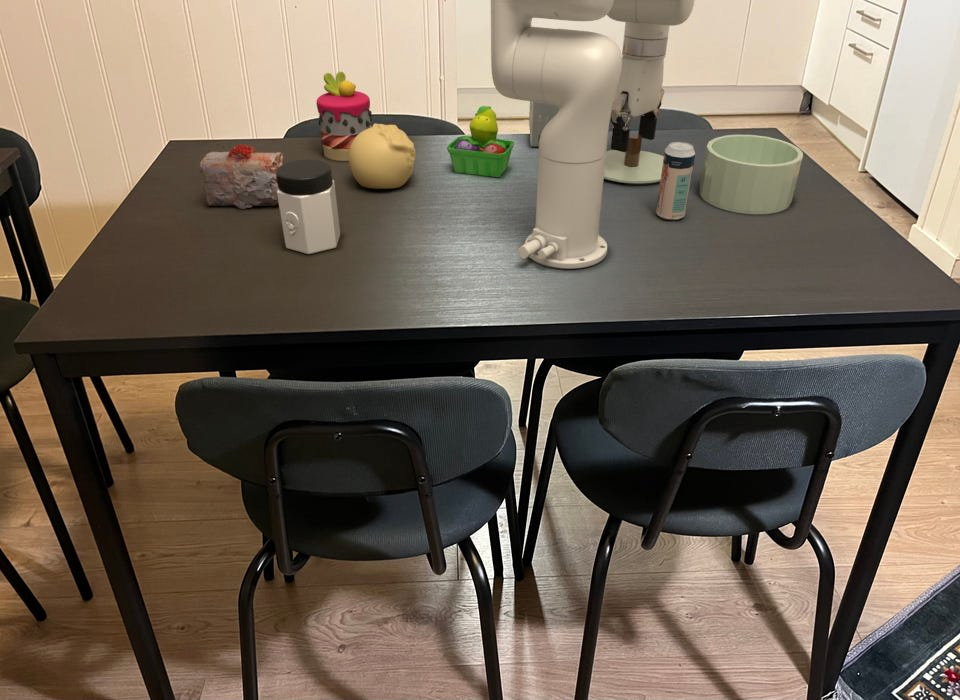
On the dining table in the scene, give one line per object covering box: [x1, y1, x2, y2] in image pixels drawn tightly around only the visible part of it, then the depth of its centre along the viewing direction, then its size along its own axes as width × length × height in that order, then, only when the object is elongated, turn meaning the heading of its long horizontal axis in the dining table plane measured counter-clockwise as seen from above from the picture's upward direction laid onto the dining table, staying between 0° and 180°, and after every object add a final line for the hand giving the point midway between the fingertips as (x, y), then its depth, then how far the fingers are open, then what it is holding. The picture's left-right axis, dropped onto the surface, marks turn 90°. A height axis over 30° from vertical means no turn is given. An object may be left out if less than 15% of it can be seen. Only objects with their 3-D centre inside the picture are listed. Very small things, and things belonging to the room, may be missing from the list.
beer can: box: [655, 141, 696, 221], centre depth 123 cm, size 5×5×12 cm
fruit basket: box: [446, 105, 515, 178], centre depth 141 cm, size 11×9×11 cm
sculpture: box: [348, 123, 417, 190], centre depth 136 cm, size 12×12×11 cm
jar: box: [276, 159, 341, 255], centre depth 115 cm, size 9×8×12 cm
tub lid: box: [604, 133, 664, 185], centre depth 142 cm, size 17×17×7 cm
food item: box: [199, 144, 284, 210], centre depth 129 cm, size 14×8×10 cm, turn 91°
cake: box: [316, 71, 373, 162], centre depth 148 cm, size 10×11×15 cm
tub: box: [698, 134, 804, 215], centre depth 131 cm, size 16×16×8 cm
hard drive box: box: [528, 101, 559, 147], centre depth 155 cm, size 16×8×20 cm, turn 179°
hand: (632, 144), depth 141 cm, fingers open, 9 cm apart
